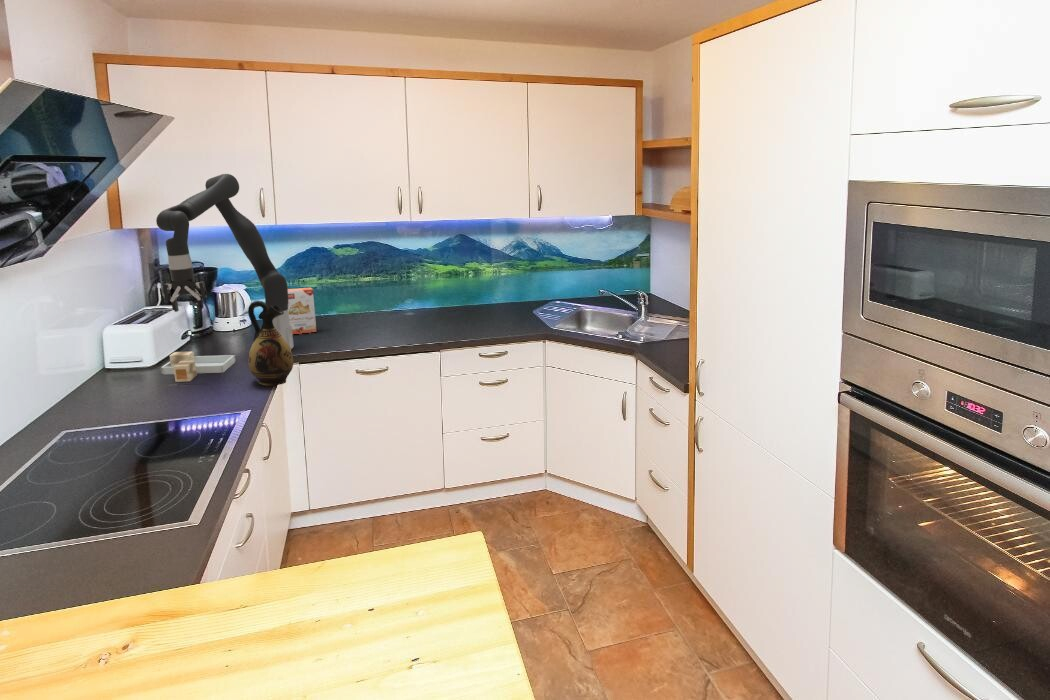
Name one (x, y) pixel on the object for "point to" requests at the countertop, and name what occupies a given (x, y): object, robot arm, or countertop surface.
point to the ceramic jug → (268, 348)
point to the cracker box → (301, 310)
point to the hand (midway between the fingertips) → (188, 310)
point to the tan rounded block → (181, 357)
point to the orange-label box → (184, 371)
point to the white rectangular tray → (206, 364)
